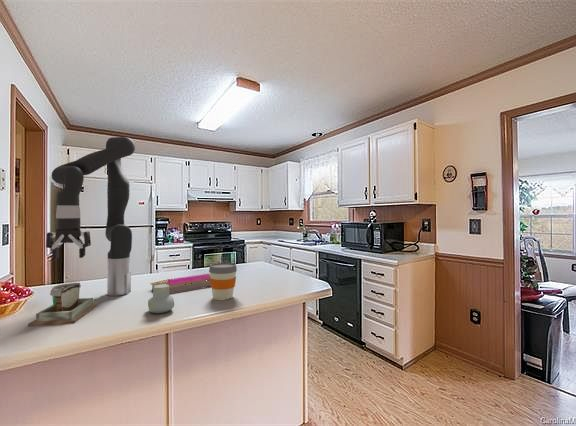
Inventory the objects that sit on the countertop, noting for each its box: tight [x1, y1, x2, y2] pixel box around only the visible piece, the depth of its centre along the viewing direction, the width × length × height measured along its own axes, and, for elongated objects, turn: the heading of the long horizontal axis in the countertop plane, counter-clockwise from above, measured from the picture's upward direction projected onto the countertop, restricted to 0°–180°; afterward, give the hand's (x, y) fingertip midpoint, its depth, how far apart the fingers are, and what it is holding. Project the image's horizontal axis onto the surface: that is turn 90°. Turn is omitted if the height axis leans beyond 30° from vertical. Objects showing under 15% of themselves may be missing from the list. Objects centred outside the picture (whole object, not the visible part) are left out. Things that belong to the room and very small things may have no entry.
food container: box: [49, 282, 82, 312], centre depth 108 cm, size 12×6×10 cm, turn 7°
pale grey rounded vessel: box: [147, 284, 175, 314], centre depth 113 cm, size 11×8×10 cm
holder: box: [27, 297, 100, 327], centre depth 109 cm, size 14×20×4 cm
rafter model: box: [149, 273, 211, 295], centre depth 150 cm, size 35×14×6 cm, turn 131°
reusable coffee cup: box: [208, 262, 237, 301], centre depth 132 cm, size 13×13×15 cm
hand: (69, 258), depth 112 cm, fingers open, 8 cm apart
